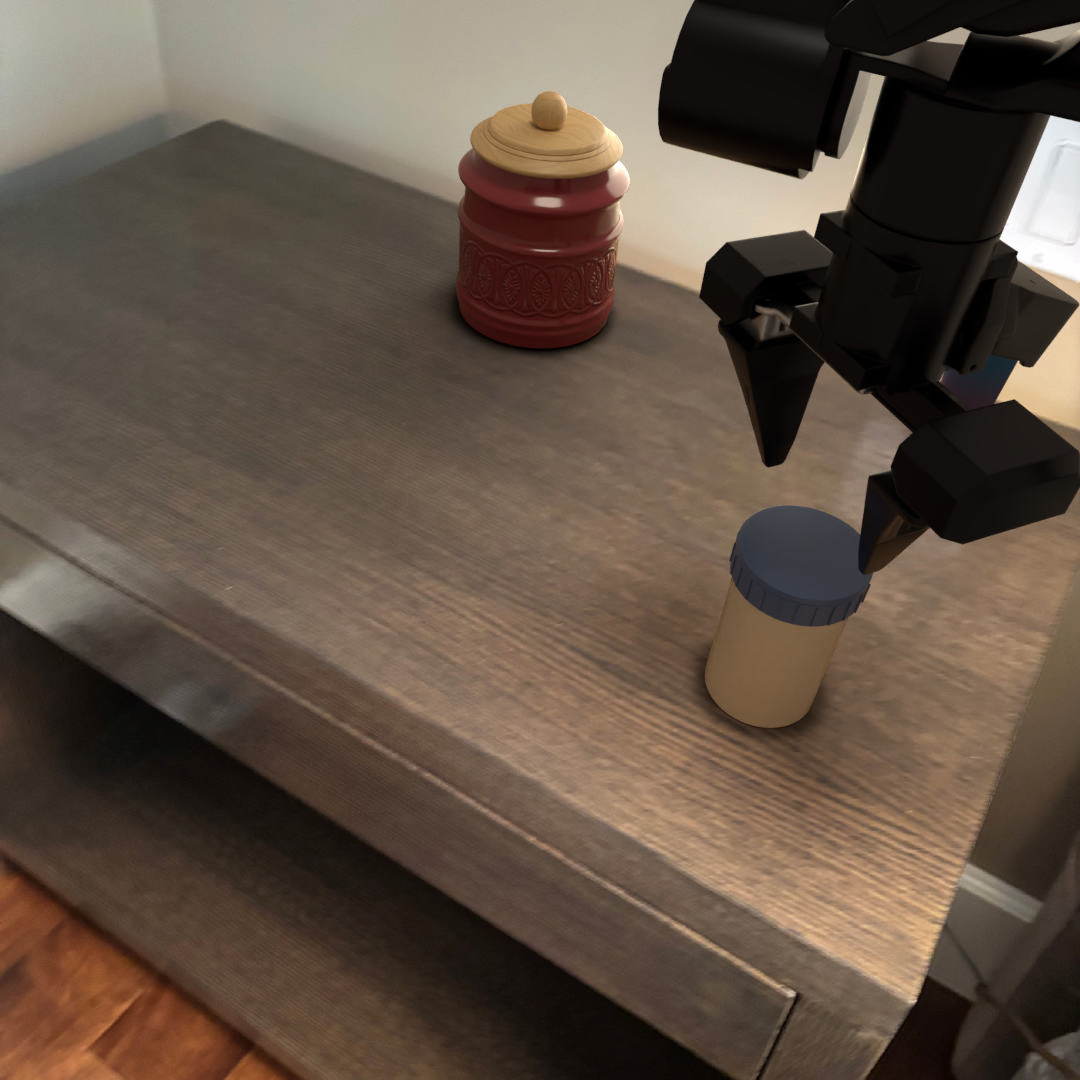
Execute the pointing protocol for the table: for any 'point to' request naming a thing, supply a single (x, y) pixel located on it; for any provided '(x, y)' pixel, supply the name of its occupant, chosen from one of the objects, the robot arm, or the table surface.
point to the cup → (980, 382)
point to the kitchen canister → (540, 224)
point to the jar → (766, 664)
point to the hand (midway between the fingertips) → (818, 514)
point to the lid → (799, 566)
